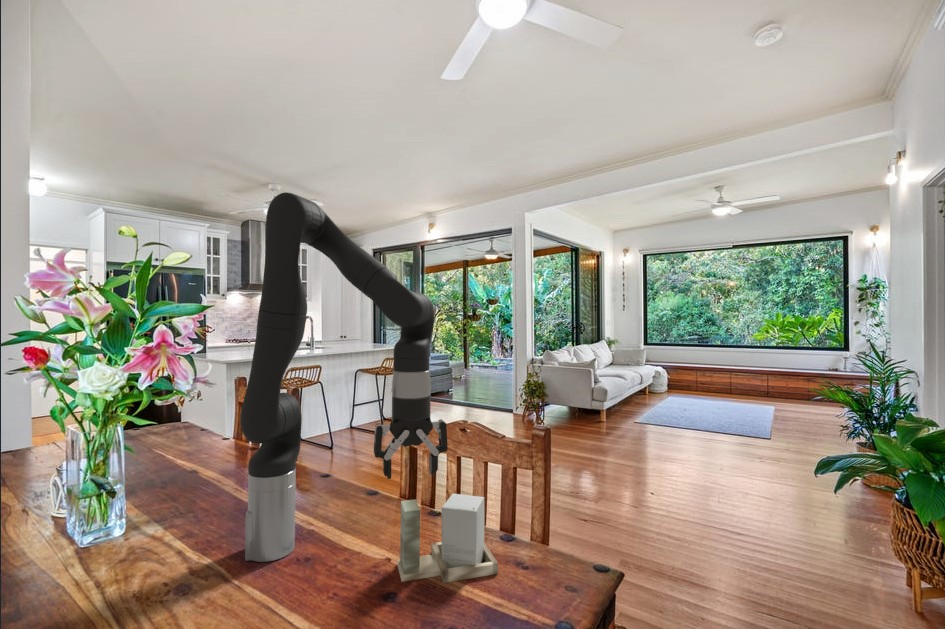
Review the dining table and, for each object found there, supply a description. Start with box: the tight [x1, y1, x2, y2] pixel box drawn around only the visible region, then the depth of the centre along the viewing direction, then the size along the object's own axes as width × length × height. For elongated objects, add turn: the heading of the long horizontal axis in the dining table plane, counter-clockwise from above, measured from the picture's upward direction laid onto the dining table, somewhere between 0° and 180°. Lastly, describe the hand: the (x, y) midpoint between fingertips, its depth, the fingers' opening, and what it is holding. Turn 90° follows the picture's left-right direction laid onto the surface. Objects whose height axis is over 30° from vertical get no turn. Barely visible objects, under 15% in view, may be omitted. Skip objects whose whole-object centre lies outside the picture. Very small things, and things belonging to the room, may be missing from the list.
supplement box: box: [441, 493, 485, 569], centre depth 90 cm, size 7×7×13 cm
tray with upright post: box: [396, 499, 499, 584], centre depth 89 cm, size 18×11×13 cm, turn 107°
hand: (410, 475), depth 87 cm, fingers open, 8 cm apart
